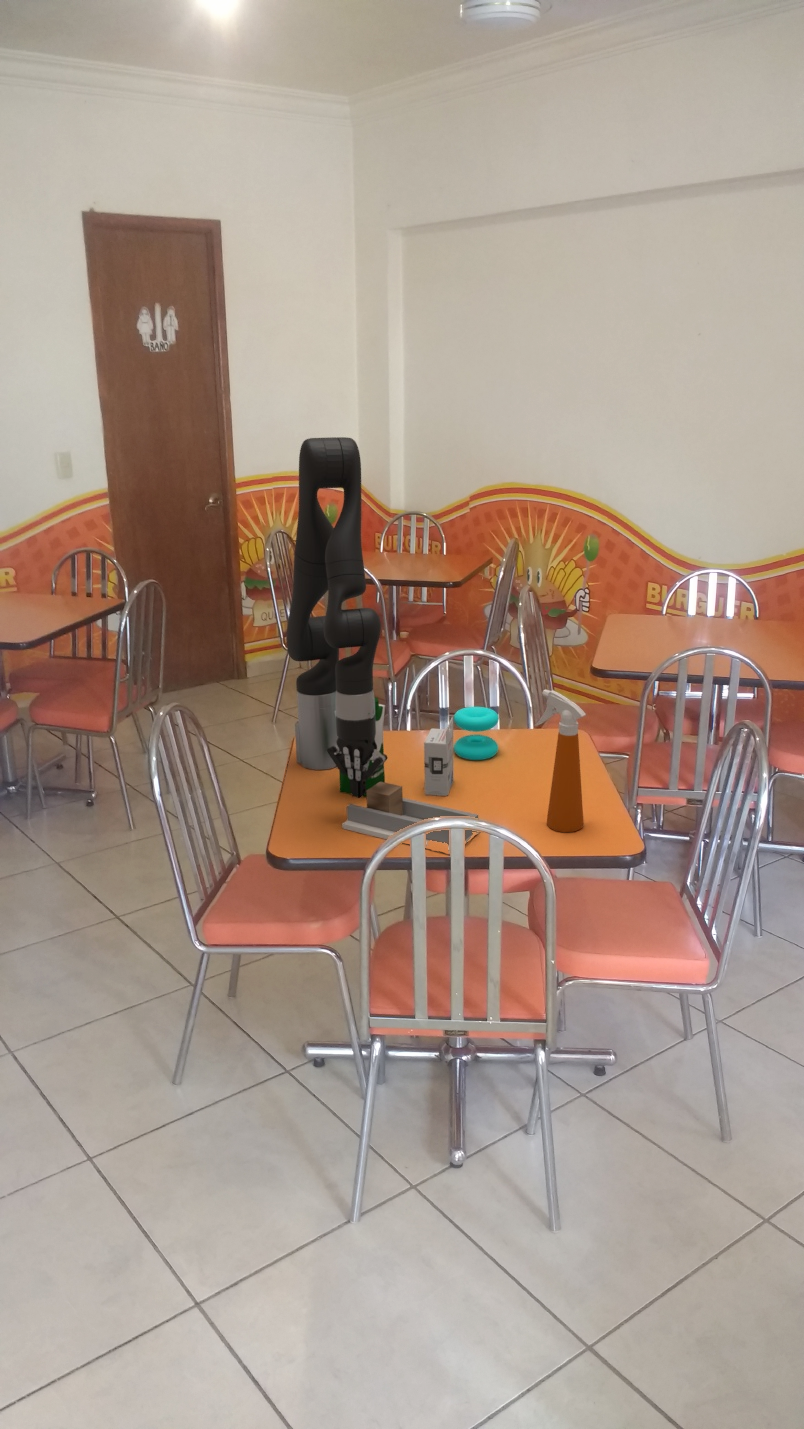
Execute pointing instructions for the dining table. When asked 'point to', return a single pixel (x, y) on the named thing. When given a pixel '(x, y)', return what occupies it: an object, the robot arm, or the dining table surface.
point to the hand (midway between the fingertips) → (358, 795)
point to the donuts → (476, 721)
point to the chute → (400, 820)
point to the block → (385, 798)
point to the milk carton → (379, 741)
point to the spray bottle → (565, 765)
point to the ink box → (439, 761)
